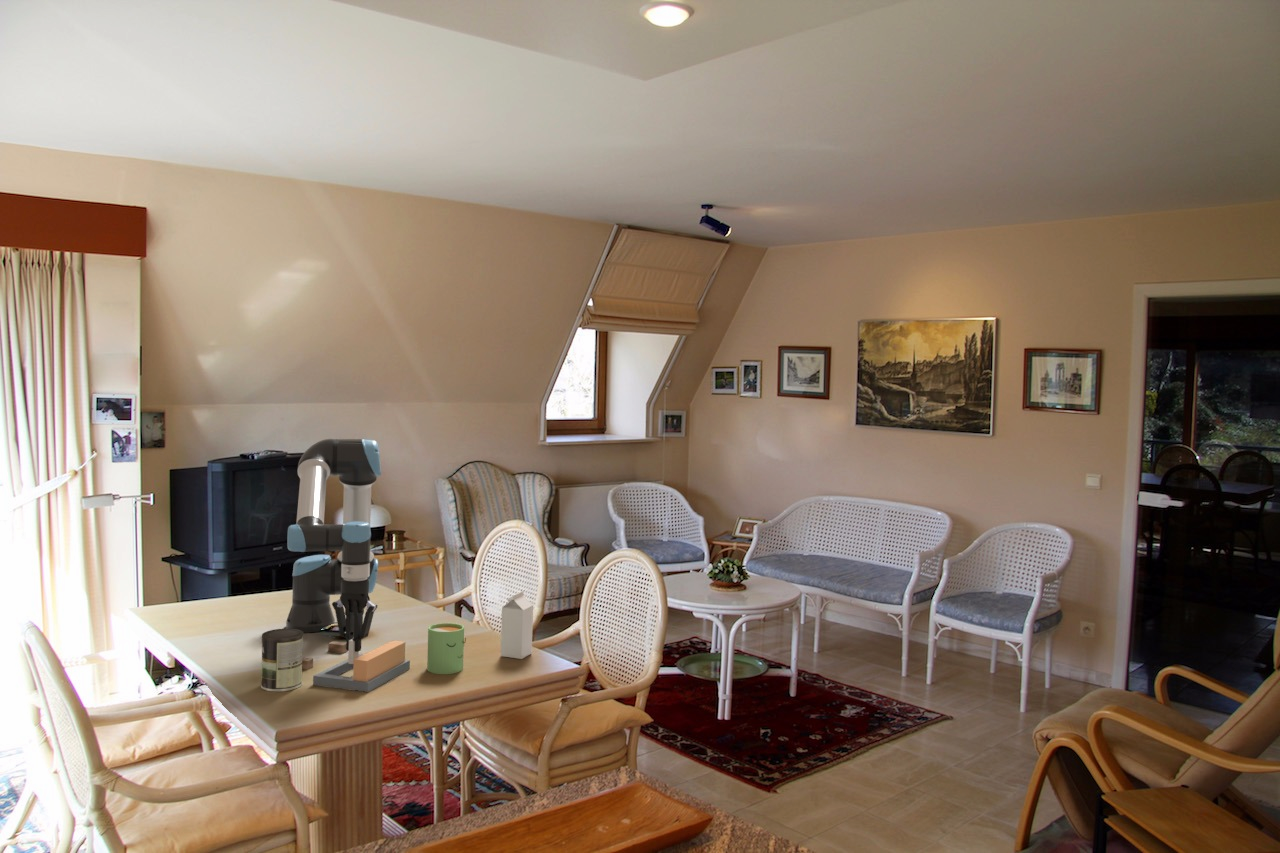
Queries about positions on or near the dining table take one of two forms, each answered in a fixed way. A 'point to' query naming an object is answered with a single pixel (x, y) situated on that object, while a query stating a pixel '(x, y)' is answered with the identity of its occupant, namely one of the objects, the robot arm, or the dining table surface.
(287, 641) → the coffee can
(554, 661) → the dining table surface
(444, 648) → the mug
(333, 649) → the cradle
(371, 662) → the strip
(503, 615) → the milk carton
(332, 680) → the board with u-shaped cutout
